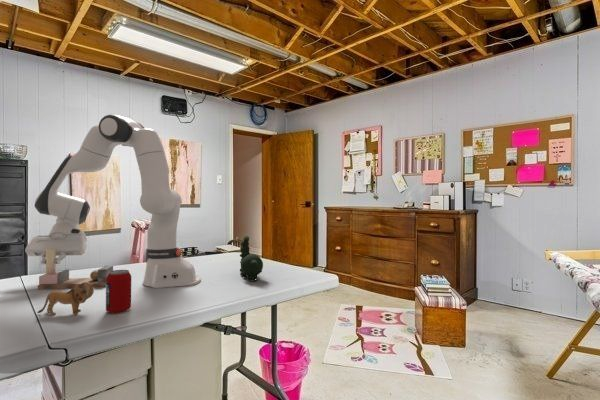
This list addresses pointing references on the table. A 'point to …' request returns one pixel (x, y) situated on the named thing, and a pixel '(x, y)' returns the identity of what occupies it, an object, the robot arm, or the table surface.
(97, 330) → the table surface
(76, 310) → the lion figurine
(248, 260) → the toy figurine
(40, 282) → the press slider
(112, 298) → the beverage can
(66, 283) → the press base
